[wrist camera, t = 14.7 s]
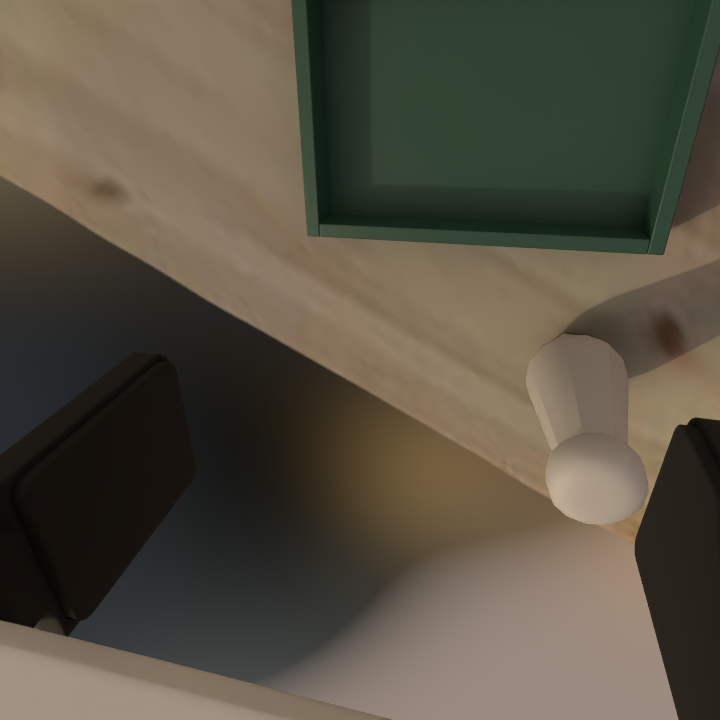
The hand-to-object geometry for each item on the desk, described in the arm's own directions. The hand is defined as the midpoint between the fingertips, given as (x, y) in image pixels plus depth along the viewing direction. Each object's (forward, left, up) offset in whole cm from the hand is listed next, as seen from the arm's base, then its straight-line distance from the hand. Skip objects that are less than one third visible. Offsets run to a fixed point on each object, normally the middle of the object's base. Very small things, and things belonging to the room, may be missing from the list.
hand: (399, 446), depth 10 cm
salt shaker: (+7, -10, -25) cm, 28 cm away
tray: (0, +5, -24) cm, 25 cm away
